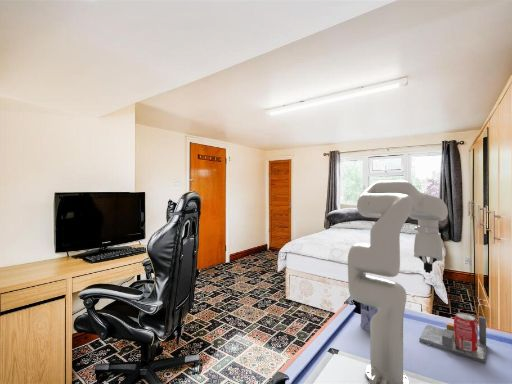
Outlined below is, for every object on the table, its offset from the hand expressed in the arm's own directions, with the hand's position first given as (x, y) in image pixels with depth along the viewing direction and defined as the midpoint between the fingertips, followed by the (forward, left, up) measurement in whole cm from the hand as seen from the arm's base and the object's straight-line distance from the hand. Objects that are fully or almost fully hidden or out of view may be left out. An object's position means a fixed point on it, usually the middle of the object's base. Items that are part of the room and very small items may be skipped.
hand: (428, 272), depth 115 cm
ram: (-6, -8, -24) cm, 26 cm away
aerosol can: (-15, +20, -26) cm, 36 cm away
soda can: (-10, -14, -24) cm, 29 cm away
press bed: (-6, -9, -25) cm, 28 cm away
